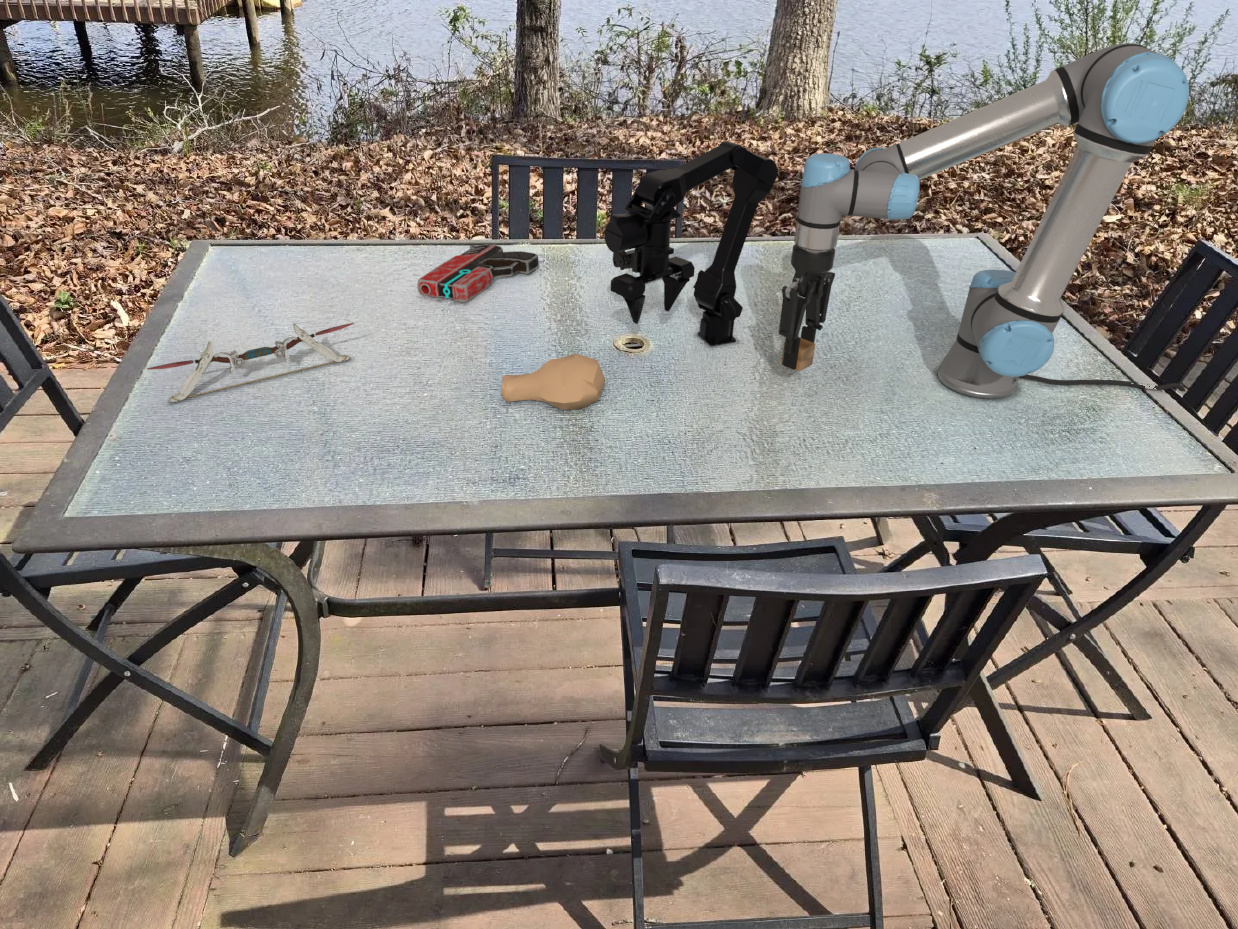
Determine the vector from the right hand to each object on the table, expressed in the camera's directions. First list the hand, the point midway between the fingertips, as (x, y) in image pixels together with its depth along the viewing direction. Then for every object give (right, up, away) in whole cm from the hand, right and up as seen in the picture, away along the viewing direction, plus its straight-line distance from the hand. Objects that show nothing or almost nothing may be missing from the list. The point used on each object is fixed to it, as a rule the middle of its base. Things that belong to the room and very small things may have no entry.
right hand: (796, 362), depth 169 cm
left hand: (-28, +10, +9) cm, 31 cm away
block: (0, 0, 0) cm, 0 cm away
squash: (-47, -8, -1) cm, 48 cm away
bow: (-104, -3, +3) cm, 104 cm away
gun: (-69, +26, +48) cm, 88 cm away
